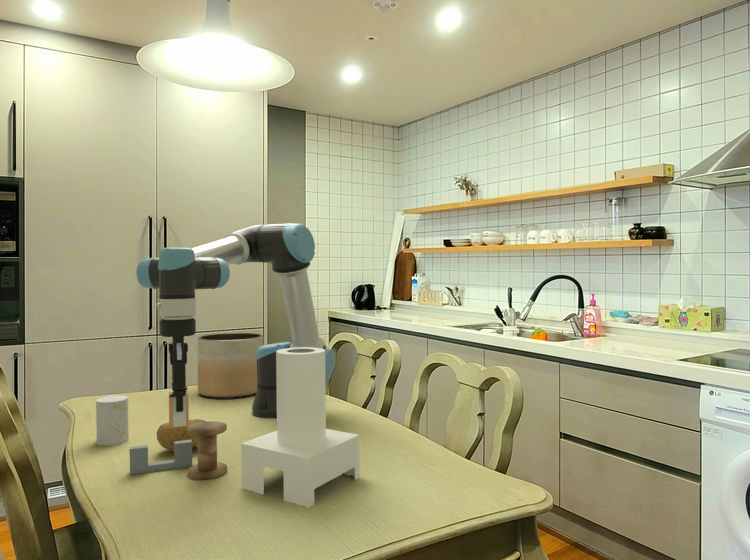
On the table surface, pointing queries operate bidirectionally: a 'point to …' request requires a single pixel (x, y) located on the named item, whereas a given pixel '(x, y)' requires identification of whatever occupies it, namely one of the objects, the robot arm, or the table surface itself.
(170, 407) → the orange brown tapered block
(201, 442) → the bobbin
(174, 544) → the table surface
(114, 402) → the cup
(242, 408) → the table surface
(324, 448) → the paper towel holder
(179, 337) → the robot arm
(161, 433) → the potato
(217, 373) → the planter
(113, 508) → the table surface
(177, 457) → the gray board
